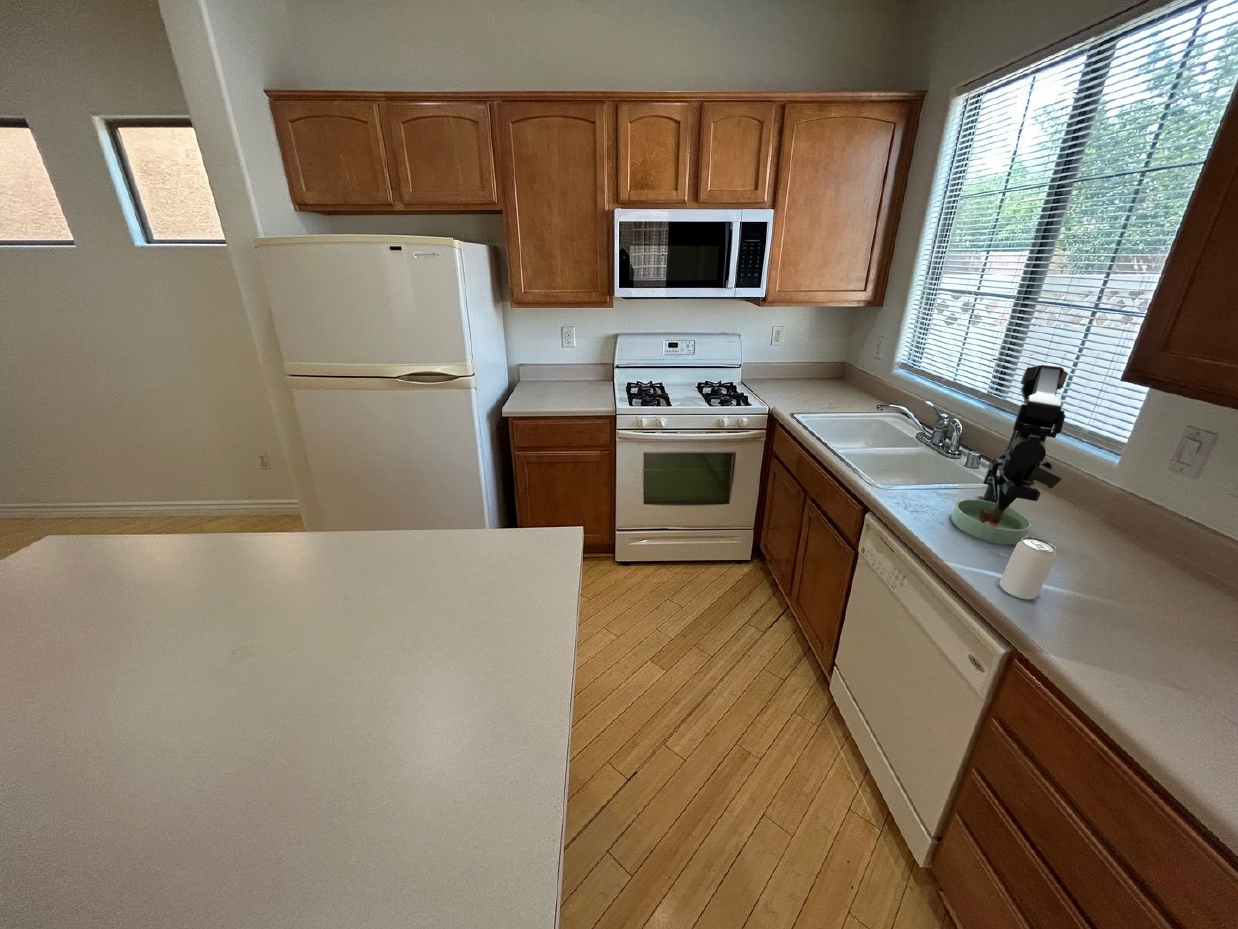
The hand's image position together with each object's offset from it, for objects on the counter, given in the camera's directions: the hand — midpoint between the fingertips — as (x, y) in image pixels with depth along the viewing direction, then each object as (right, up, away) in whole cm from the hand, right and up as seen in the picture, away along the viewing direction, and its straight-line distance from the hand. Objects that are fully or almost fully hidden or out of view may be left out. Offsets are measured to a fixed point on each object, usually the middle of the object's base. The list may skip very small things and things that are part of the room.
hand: (1000, 508), depth 120 cm
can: (-11, -16, -18) cm, 27 cm away
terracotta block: (-2, -7, +1) cm, 7 cm away
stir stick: (0, -5, +3) cm, 6 cm away
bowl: (0, -6, +5) cm, 8 cm away
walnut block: (+2, -4, +7) cm, 9 cm away
